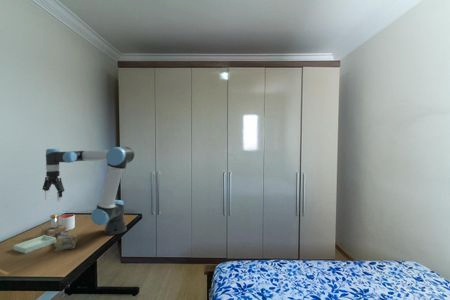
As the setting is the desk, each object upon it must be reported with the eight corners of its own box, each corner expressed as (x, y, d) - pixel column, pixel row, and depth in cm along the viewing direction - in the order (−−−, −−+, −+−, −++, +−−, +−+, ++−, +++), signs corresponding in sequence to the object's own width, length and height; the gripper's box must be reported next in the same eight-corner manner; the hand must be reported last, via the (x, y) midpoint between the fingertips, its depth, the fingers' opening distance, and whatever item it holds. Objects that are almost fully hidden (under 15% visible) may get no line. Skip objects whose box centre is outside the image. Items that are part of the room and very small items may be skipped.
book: (57, 243, 155) (57, 235, 155) (77, 239, 160) (77, 232, 160) (54, 252, 142) (54, 243, 142) (76, 248, 148) (76, 240, 148)
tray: (56, 242, 155) (56, 237, 155) (25, 253, 139) (25, 248, 139) (44, 239, 160) (44, 235, 160) (13, 250, 144) (13, 245, 144)
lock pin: (58, 234, 168) (58, 215, 168) (53, 236, 165) (52, 216, 164) (55, 233, 170) (54, 214, 169) (49, 235, 166) (48, 215, 166)
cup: (77, 227, 183) (77, 214, 183) (68, 232, 173) (67, 218, 173) (65, 226, 184) (65, 213, 184) (55, 231, 174) (55, 218, 174)
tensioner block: (72, 235, 167) (72, 228, 167) (57, 240, 158) (57, 233, 158) (56, 231, 174) (56, 224, 174) (42, 236, 164) (41, 229, 164)
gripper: (70, 171, 164) (70, 201, 165) (47, 169, 174) (48, 197, 175) (58, 172, 158) (59, 203, 158) (36, 170, 167) (36, 200, 168)
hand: (53, 200), depth 167 cm, fingers open, 13 cm apart
